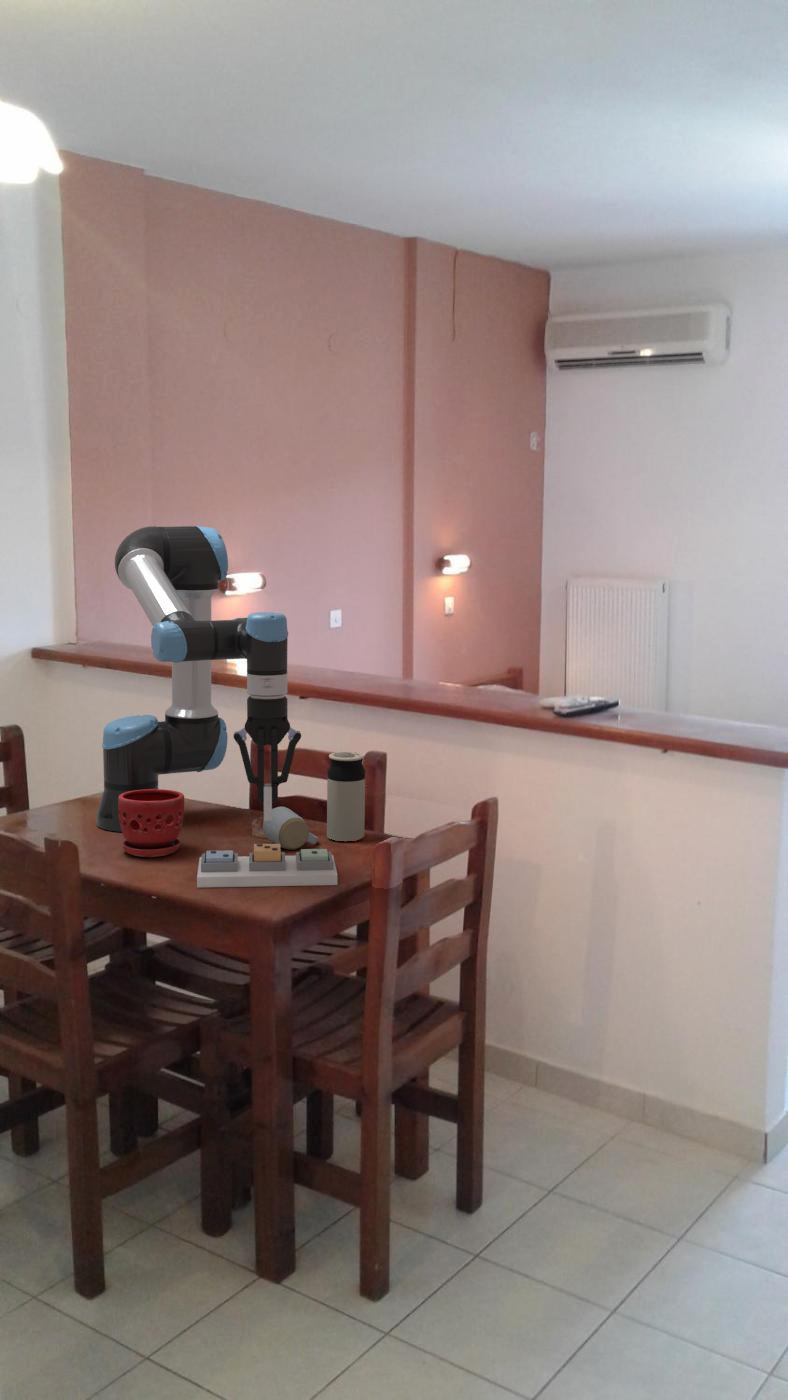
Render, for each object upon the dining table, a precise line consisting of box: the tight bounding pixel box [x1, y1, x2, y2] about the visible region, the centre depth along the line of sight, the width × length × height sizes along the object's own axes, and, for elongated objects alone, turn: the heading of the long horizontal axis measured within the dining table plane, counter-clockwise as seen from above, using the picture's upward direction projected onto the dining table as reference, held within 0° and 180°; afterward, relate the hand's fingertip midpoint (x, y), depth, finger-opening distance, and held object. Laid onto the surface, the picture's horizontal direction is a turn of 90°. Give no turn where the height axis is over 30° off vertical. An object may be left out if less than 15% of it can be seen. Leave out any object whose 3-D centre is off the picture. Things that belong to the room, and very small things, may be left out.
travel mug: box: [326, 751, 366, 842], centre depth 268 cm, size 8×8×18 cm
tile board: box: [196, 851, 338, 889], centre depth 242 cm, size 13×26×4 cm, turn 96°
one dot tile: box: [300, 848, 328, 861], centre depth 242 cm, size 5×5×2 cm
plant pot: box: [118, 788, 185, 859], centre depth 256 cm, size 13×13×12 cm
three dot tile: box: [253, 843, 282, 862], centre depth 241 cm, size 5×5×2 cm
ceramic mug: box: [262, 806, 319, 851], centre depth 263 cm, size 11×8×8 cm
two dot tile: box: [205, 849, 234, 863], centre depth 240 cm, size 5×5×2 cm
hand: (267, 818), depth 240 cm, fingers closed
